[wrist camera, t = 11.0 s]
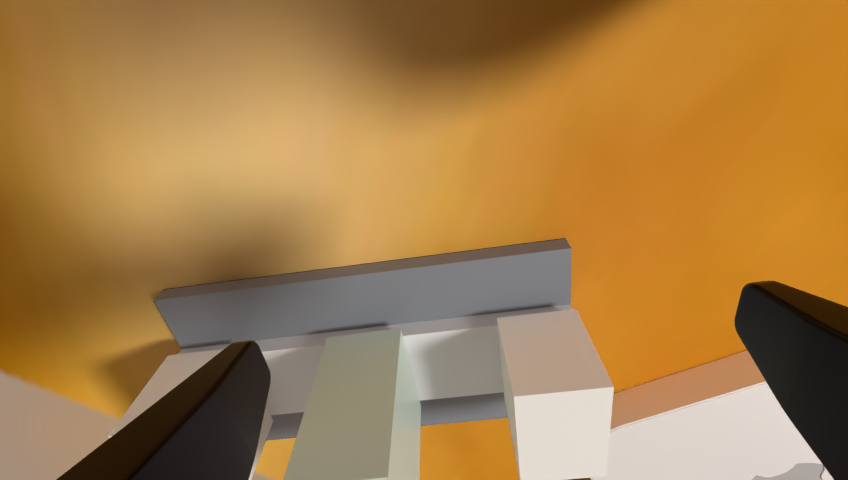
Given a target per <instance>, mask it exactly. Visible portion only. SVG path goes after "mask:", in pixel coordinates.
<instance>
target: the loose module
mask: <svg viewBox="0 0 848 480" xmlns="http://www.w3.org/2000/svg"><path fill="white" fill-rule="evenodd" d="M420 430H421V404H420V400H419V396H418V392H417V388H416V384H415V381H414V377H413V373H412V369H411V365H410V361H409V357H408V353H407V350H406V346H405V342H404V338H403V334H402V330H401V328H398V329H390V330H382V331H374V332H367V333H359V334H351V335H343V336H335V337H327V340H326V343H325V346H324V349H323V353H322V356H321V359H320V362H319V366H318V369H317V372H316V375H315V379H314V382H313V385H312V388H311V392H310V395H309V398H308V401H307V405H306V408H305V411H304V414H303V418H302V421H301V424H300V427H299V431H298V434H297V437H296V440H295V444H294V447H293V450H292V453H291V457H290V460H289V463H288V466H287V470H286V473H285V476H284V479H283V480H419V477H420Z"/></svg>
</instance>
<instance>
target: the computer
mask: <svg viewBox="0 0 848 480" xmlns="http://www.w3.org/2000/svg"><path fill="white" fill-rule="evenodd" d="M590 479H591V480H834V479H833V478H832V476H831V475H830V474H829V472H828V471H827V470H826V468H825V467H824V466H823V464H822V463H821V461H820V460H819V459H818V457H817V456H816V455H815V453H814V452H813V451H812V449H811V448H810V446H809V445H808V444H807V442H806V441H805V440H804V438H803V437H802V436H801V434H800V433H799V432H798V430H797V429H796V427H795V426H794V425H793V423H792V422H791V420H790V419H789V418H788V416H787V415H786V413H785V412H784V410H783V409H782V407H781V406H780V404H779V402H778V401H777V399H776V398H775V396H774V394H773V393H772V391H771V389H770V388H769V386H768V384H767V382H766V381H765V379H764V377H763V376H762V374H761V372H760V371H759V369H758V367H757V366H756V364H755V362H754V360H753V359H752V357H751V355H750V354H749V352H748V350H747V351H743V352H740V353H737V354H734V355H731V356H728V357H725V358H722V359H719V360H716V361H713V362H710V363H707V364H703V365H700V366H697V367H694V368H691V369H688V370H685V371H682V372H679V373H676V374H673V375H670V376H667V377H664V378H660V379H657V380H654V381H651V382H648V383H645V384H642V385H639V386H636V387H633V388H630V389H627V390H624V391H620V392H617V393H614V394H613V403H612V415H611V427H610V439H609V450H608V462H607V474H606V476H604V477H592V478H590Z"/></svg>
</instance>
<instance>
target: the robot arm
mask: <svg viewBox="0 0 848 480" xmlns="http://www.w3.org/2000/svg"><path fill="white" fill-rule="evenodd" d="M735 328H736V331H737V333H738V335H739V337H740V338H741V340H742V342H743V344H744V345H745V347H746V349H747V350H748V352H749V354H750V355H751V357H752V359H753V360H754V362H755V364H756V366H757V367H758V369H759V371H760V372H761V374H762V376H763V377H764V379H765V381H766V382H767V384H768V386H769V388H770V389H771V391H772V393H773V394H774V396H775V398H776V399H777V401H778V402H779V404H780V406H781V407H782V409H783V410H784V412H785V413H786V415H787V416H788V418H789V419H790V420H791V422H792V423H793V425H794V426H795V427H796V429H797V430H798V432H799V433H800V434H801V436H802V437H803V438H804V440H805V441H806V442H807V444H808V445H809V446H810V448H811V449H812V451H813V452H814V453H815V455H816V456H817V457H818V459H819V460H820V461H821V463H822V464H823V466H824V467H825V468H826V470H827V471H828V472H829V474H830V475H831V476H832V478H833V479H834V480H848V307H846V306H843V305H840V304H838V303H835V302H832V301H829V300H826V299H824V298H821V297H818V296H815V295H812V294H810V293H807V292H804V291H801V290H798V289H795V288H793V287H790V286H787V285H784V284H781V283H779V282H776V281H762V282H753V283H749V284H746V285H745V286H744V287H743V289H742V292H741V296H740V300H739V304H738V308H737V312H736V316H735ZM270 382H271V374H270V370H269V367H268V365H267V363H266V360H265V358H264V356H263V354H262V352H261V349H260V347H259V345H258V344H257V343H256V342H255V341H253V340H247V341H238V342H234V343H231V344H230V345H229V346H227V347H226V348H225V349H224V350H222V351H221V352H220V353H218V354H217V355H216V356H215V357H213V358H212V359H211V360H209V361H208V362H207V363H206V364H204V365H203V366H202V367H200V368H199V369H198V370H197V371H195V372H194V373H193V374H191V375H190V376H189V377H188V378H186V379H185V380H184V381H182V382H181V383H180V384H179V385H177V386H176V387H175V388H173V389H172V390H171V391H170V392H168V393H167V394H166V395H164V396H163V397H162V398H161V399H159V400H158V401H157V402H155V403H154V404H153V405H152V406H150V407H149V408H148V409H146V410H145V411H144V412H143V413H141V414H140V415H139V416H137V417H136V418H135V419H134V420H132V421H131V422H130V423H129V424H127V425H126V426H125V427H123V428H122V429H121V430H120V431H118V432H117V433H116V434H114V435H113V436H112V437H111V438H109V439H108V440H107V441H106V442H104V443H103V444H102V445H100V446H99V447H98V448H96V449H95V450H94V451H93V452H91V453H90V454H89V455H87V456H86V457H85V458H84V459H82V460H81V461H80V462H78V463H77V464H76V465H75V466H73V467H72V468H71V469H70V470H68V471H67V472H66V473H65V474H63V475H62V476H61V477H59V478H58V479H57V480H249V476H250V473H251V470H252V466H253V463H254V459H255V455H256V451H257V447H258V442H259V437H260V432H261V427H262V422H263V417H264V412H265V408H266V403H267V398H268V393H269V388H270Z"/></svg>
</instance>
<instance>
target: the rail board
mask: <svg viewBox="0 0 848 480" xmlns="http://www.w3.org/2000/svg"><path fill="white" fill-rule="evenodd" d="M570 297H571V247H570V245H569V244H568V242H567V240H566V238H564V239H557V240H549V241H541V242H533V243H525V244H518V245H510V246H502V247H494V248H486V249H478V250H471V251H463V252H455V253H447V254H439V255H431V256H424V257H416V258H408V259H400V260H392V261H384V262H377V263H369V264H361V265H353V266H345V267H337V268H330V269H322V270H314V271H306V272H298V273H290V274H283V275H275V276H267V277H259V278H251V279H243V280H236V281H228V282H220V283H212V284H204V285H196V286H189V287H181V288H173V289H165V290H163V291H162V292H161V293H160V294H159V295H158V296H157V297H156V298H155V299H154V303H155V304H156V306H157V308H158V310H159V311H160V313H161V315H162V317H163V318H164V320H165V322H166V323H167V325H168V327H169V329H170V330H171V332H172V334H173V336H174V337H175V339H176V341H177V343H178V344H179V346H180V348H181V350H180V352H179V353H178V354H175V355H168V356H167V357H166V359H165V360H164V361H163V363H162V364H161V365H160V367H159V368H158V370H157V371H156V372H155V374H154V375H153V376H152V378H151V379H150V380H149V382H148V383H147V384H146V386H145V387H144V388H143V390H142V391H141V392H140V394H139V395H138V396H137V398H136V399H135V400H134V402H133V403H132V404H131V406H130V407H129V408H128V410H127V411H126V412H125V414H124V415H123V416H122V418H121V419H120V420H119V422H118V423H117V424H116V426H115V427H114V429H113V430H112V431H111V433H110V434H109V435H108V437H109V438H111V437H112V436H113V435H114V434H116V433H117V432H118V431H120V430H121V429H122V428H123V427H125V426H126V425H127V424H129V423H130V422H131V421H132V420H134V419H135V418H136V417H137V416H139V415H140V414H141V413H143V412H144V411H145V410H146V409H148V408H149V407H150V406H152V405H153V404H154V403H155V402H157V401H158V400H159V399H161V398H162V397H163V396H164V395H166V394H167V393H168V392H170V391H171V390H172V389H173V388H175V387H176V386H177V385H179V384H180V383H181V382H182V381H184V380H185V379H186V378H188V377H189V376H190V375H191V374H193V373H194V372H195V371H197V370H198V369H199V368H200V367H202V366H203V365H204V364H206V363H207V362H208V361H209V360H211V359H212V358H213V357H215V356H216V355H217V354H218V353H220V352H221V351H222V350H224V349H225V348H226V347H227V346H229V345H230V344H231V343H234V342H238V341H247V340H253V341H255V342H256V343H257V344H258V345H259V347H260V349H261V352H262V354H263V356H264V358H265V360H266V363H267V365H268V367H269V370H270V374H271V382H270V388H269V393H268V398H267V403H266V408H265V412H264V417H263V422H262V427H261V432H260V437H259V442H258V447H257V451H256V455H255V459H254V463H253V466H252V470H251V473H250V476H249V480H251V479H252V476H253V474H254V471H255V468H256V466H257V463H258V460H259V458H260V455H261V452H262V450H263V447H264V444H265V442H266V440H275V439H286V438H296V437H297V434H298V431H299V427H300V424H301V421H302V418H303V414H304V411H305V408H306V405H307V401H308V398H309V395H310V392H311V388H312V385H313V382H314V379H315V375H316V372H317V369H318V366H319V362H320V359H321V356H322V353H323V349H324V346H325V343H326V340H327V337H335V336H343V335H351V334H359V333H367V332H374V331H382V330H390V329H398V328H401V330H402V334H403V338H404V342H405V346H406V350H407V353H408V357H409V361H410V365H411V369H412V373H413V377H414V381H415V384H416V388H417V392H418V396H419V400H420V404H421V426H425V425H435V424H446V423H457V422H467V421H478V420H489V419H499V418H508V420H509V426H510V431H511V436H512V441H513V447H514V452H515V457H516V462H517V468H518V473H519V478H520V480H567V479H579V478H592V477H604V476H606V474H607V462H608V450H609V439H610V427H611V415H612V403H613V392H614V386H613V384H612V382H611V380H610V378H609V376H608V374H607V372H606V369H605V367H604V365H603V363H602V361H601V359H600V357H599V355H598V353H597V351H596V349H595V347H594V345H593V343H592V340H591V338H590V336H589V334H588V332H587V330H586V328H585V326H584V324H583V322H582V320H581V318H580V316H579V314H578V311H577V309H572V307H571V305H570Z"/></svg>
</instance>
